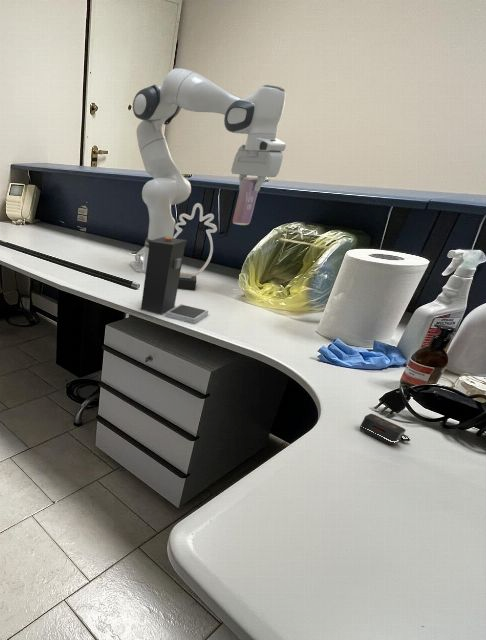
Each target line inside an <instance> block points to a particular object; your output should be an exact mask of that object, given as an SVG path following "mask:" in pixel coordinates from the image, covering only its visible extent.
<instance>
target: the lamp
mask: <svg viewBox="0 0 486 640" xmlns="http://www.w3.org/2000/svg"><path fill="white" fill-rule="evenodd" d="M197 208H198V209H199V222H201V223H202V222H203V221H204V223H203V225H205V226H207V227H210V228H211V229H210V228H209V229H206V230H205V232H206V235H207V237H208V240H209V246H210V247H209V254H208V257H207V259H206V261H205V262H204V264H203V265H202V267H201V268H199V270H197V271H196V272H189V271H188V272H187V271H181V272H180V277H179V283H178V289H177V290H186V291H188V290H189V291H195V290H196V286H197V282H198V281H197V276H198V275H200V274H201V273H203V271H204V270H205V269H206V268H207V266H208V265H209V263H210V262H211V260H212V257H213V253H214V242H213V238H212V234H214V233H217V231H218V227H217V225H216V224H215V223H212V221H213V220H214V218H215V215H214V214H213V213H207V214H206V215H204V208H203V205H202V204H201V203H199V202H197V203H195V204H194V205H193V207H192V210H191V214H190V215H189V214H187V213H181V214H179V217H178V219H179V221H180V222H177V223H175V228H174V229H175V230H176V233H175V234H174V235H173V238H175V239H177V237H178V236H179V235H180V234H181V233H182V232H183V228H181V227H179V226H186V224H187V221H185V220H184V218H185V219H187V220H189V221H191V220H193V219H194V217H195V215H196V210H197ZM203 215H204V216H203ZM211 233H212V234H211Z"/></svg>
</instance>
